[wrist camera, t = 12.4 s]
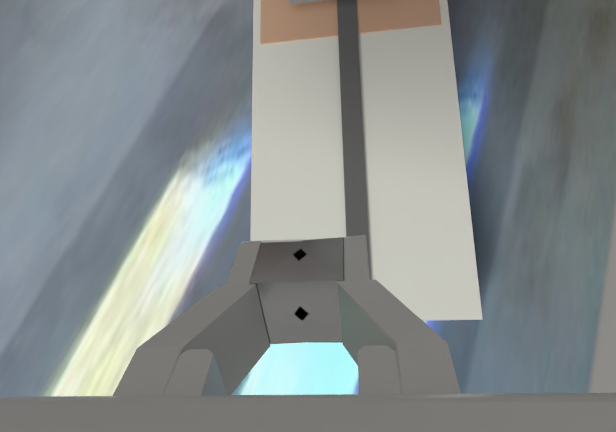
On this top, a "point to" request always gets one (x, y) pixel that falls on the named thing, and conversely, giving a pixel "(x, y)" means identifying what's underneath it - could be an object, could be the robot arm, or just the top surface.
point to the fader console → (366, 142)
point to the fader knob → (303, 1)
